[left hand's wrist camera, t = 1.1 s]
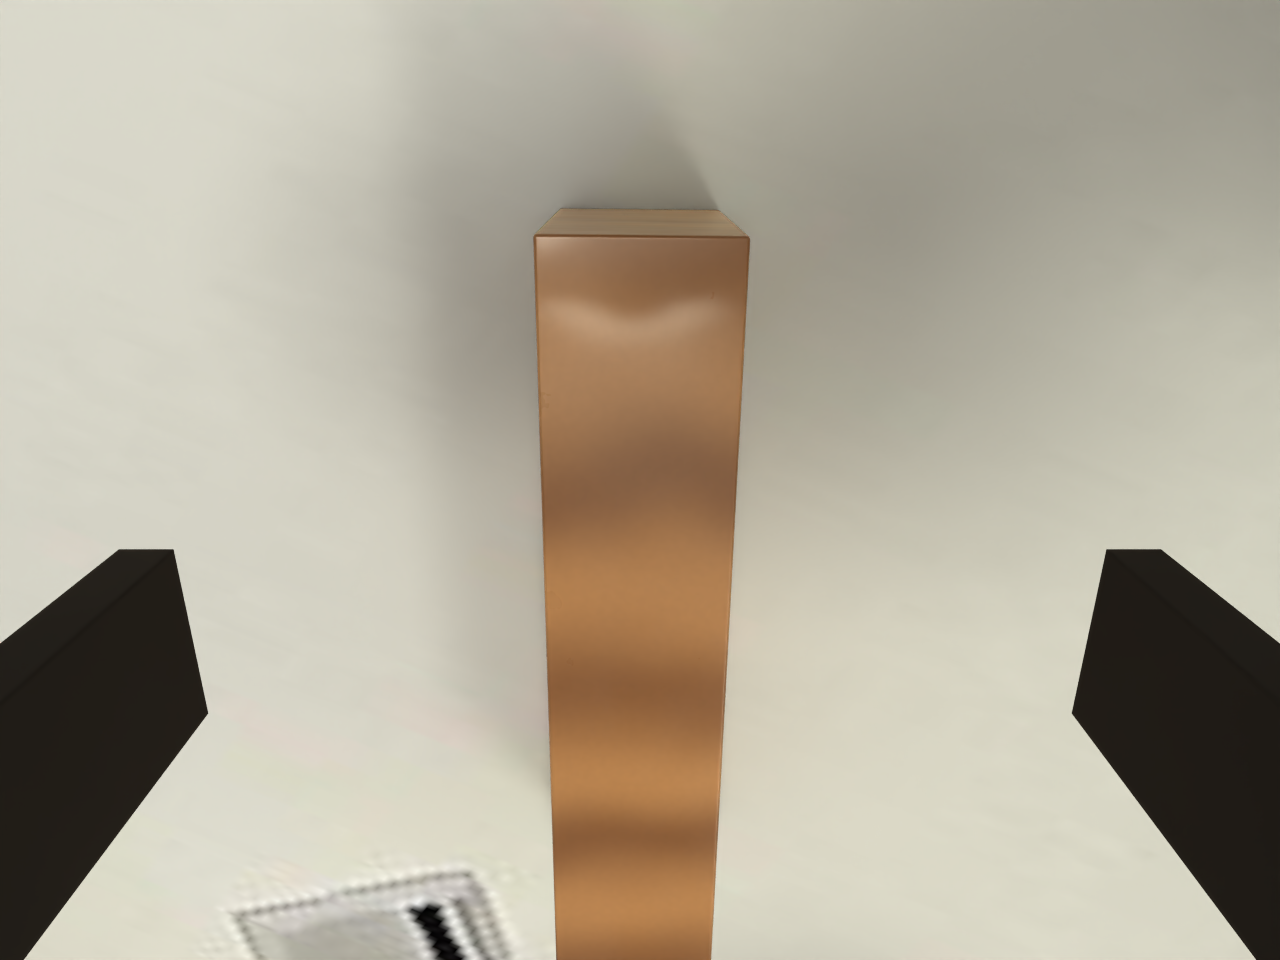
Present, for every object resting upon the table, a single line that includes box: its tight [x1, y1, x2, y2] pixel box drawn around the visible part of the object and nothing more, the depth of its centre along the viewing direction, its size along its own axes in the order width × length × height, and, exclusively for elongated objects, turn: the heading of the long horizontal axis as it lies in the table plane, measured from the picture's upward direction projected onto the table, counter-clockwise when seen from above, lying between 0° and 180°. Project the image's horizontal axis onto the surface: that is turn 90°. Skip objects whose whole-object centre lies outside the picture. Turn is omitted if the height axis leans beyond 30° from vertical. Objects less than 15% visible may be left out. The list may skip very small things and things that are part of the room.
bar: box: [533, 208, 750, 960], centre depth 31 cm, size 26×6×8 cm, turn 179°
